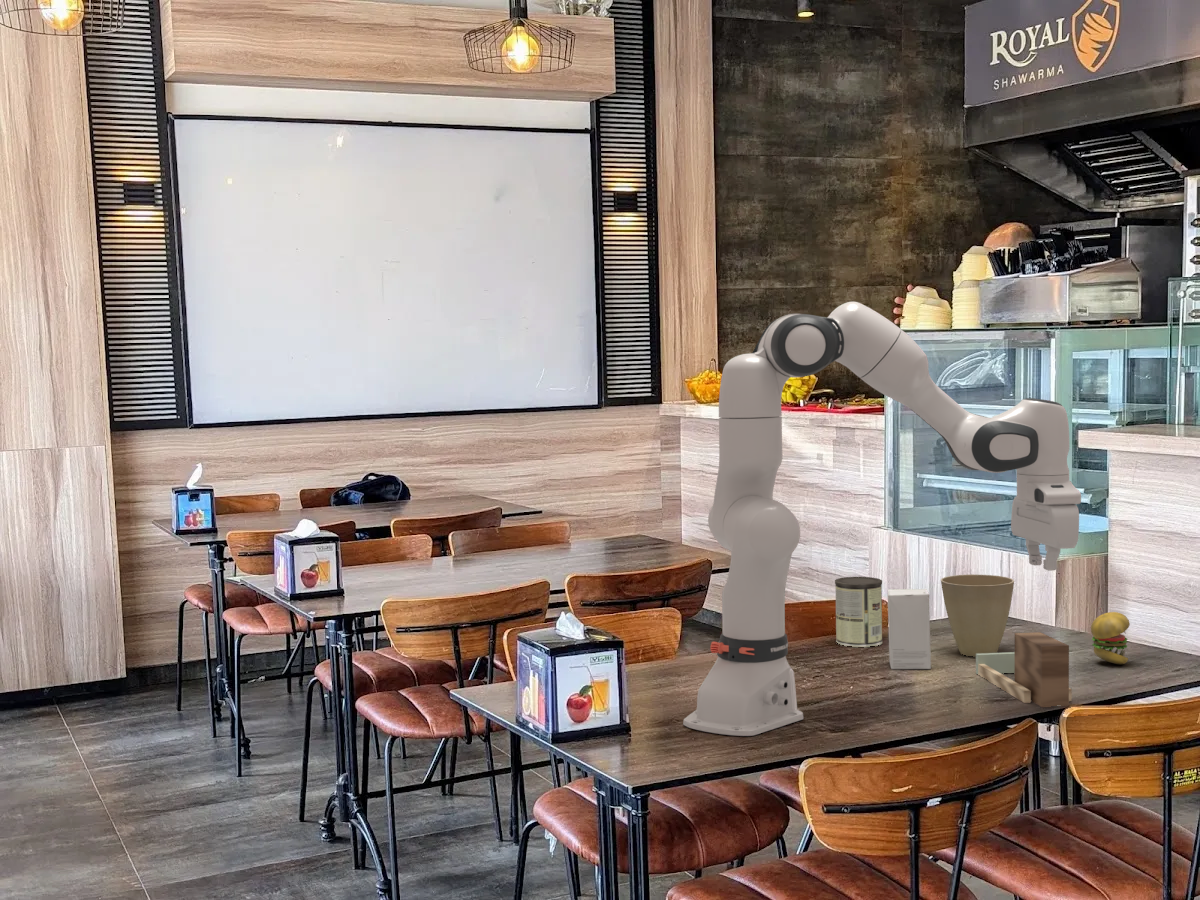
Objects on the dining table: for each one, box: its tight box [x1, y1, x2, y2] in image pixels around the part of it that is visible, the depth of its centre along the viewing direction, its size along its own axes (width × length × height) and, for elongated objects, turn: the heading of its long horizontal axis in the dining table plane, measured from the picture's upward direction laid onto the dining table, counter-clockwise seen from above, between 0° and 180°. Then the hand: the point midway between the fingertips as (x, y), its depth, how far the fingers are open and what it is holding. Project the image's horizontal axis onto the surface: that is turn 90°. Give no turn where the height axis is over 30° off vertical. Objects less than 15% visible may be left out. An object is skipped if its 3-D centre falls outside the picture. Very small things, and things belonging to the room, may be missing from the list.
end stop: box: [975, 651, 1015, 675], centre depth 258 cm, size 1×9×4 cm, turn 95°
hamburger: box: [1090, 606, 1131, 665], centre depth 264 cm, size 8×7×12 cm
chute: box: [978, 664, 1073, 704], centre depth 246 cm, size 22×9×2 cm, turn 5°
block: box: [1013, 631, 1070, 708], centre depth 238 cm, size 12×5×11 cm, turn 5°
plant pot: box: [940, 574, 1015, 658], centre depth 275 cm, size 15×15×16 cm
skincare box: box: [887, 588, 932, 670], centre depth 265 cm, size 8×7×16 cm
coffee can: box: [834, 576, 884, 648], centre depth 288 cm, size 10×10×14 cm
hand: (1042, 567), depth 231 cm, fingers open, 5 cm apart
